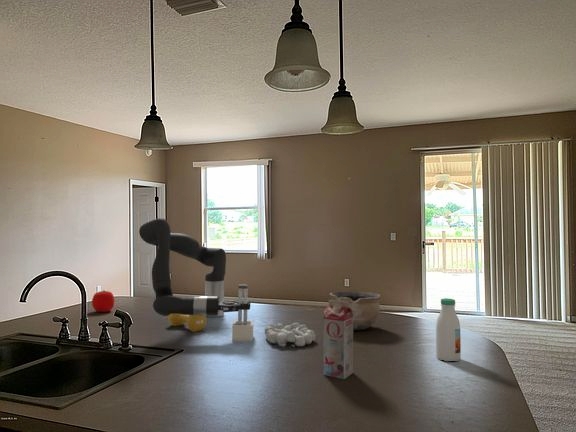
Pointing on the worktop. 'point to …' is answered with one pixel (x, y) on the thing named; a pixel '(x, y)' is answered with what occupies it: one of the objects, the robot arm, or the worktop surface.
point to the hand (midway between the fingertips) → (250, 305)
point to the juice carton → (338, 339)
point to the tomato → (103, 301)
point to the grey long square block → (245, 287)
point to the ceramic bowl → (360, 307)
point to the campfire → (289, 334)
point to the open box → (242, 331)
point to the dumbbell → (188, 321)
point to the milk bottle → (448, 332)
